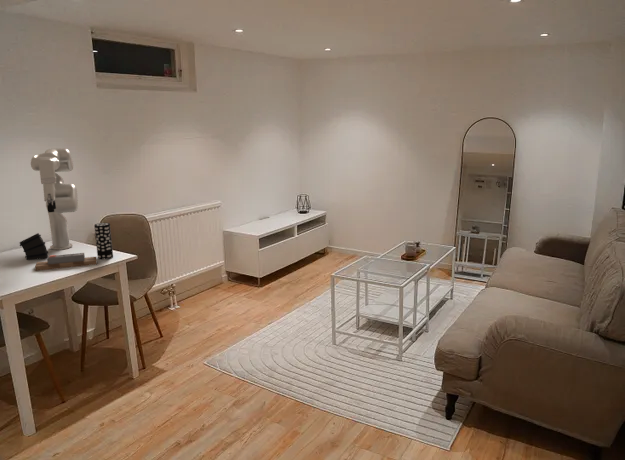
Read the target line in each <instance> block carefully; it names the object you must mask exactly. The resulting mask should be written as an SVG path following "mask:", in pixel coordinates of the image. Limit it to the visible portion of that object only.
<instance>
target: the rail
mask: <svg viewBox="0 0 625 460" xmlns="http://www.w3.org/2000/svg"><path fill="white" fill-rule="evenodd" d="M97 264H98V257H97V256H90V257H89V256H88V257H87V256H86V257H85V261H79V262H68V263H58V264H48V261H39V262H38V261H37V262H36V264H35V265H34V268H35V272H39V271H47V270H57V269H68V268H76V267H87V266H96V265H97Z"/></svg>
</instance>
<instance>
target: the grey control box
mask: <svg viewBox="0 0 625 460" xmlns="http://www.w3.org/2000/svg"><path fill="white" fill-rule="evenodd" d="M85 258H86V257H85V252H77V253H76V252H75V253H67V254H66V253H65V254H53V255H48V258H47V259H46V260H47V261H48V264H58V263H68V262H79V261H85Z"/></svg>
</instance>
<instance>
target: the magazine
mask: <svg viewBox="0 0 625 460" xmlns="http://www.w3.org/2000/svg"><path fill="white" fill-rule="evenodd" d="M41 236H42V234H40V233H39V232H37V233H35V234H34V235H31V236H29V237H28V238H25V239H23V240H21V241H20V242H19V246H20V247H22V249H23V253H25V257H24V258H25V259H26V261H30V260H31V261H32V260H35V261H36V260H47V258H48V256H49V251H48V250H47V249H48V248H47V246H46V241H44V240H43V238H42V237H41Z"/></svg>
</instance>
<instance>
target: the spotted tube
mask: <svg viewBox="0 0 625 460" xmlns="http://www.w3.org/2000/svg"><path fill="white" fill-rule="evenodd" d="M111 232H112V231H111V224H110V222H99V223H95V224H94V233H95V234H94V235H95V243H96V244H95V245H96V254H97V260H102V261H103V260H109V259H110V260H111V259H112V258H113V257H114V253H113V251H114V250H113V243H112V233H111Z"/></svg>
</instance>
